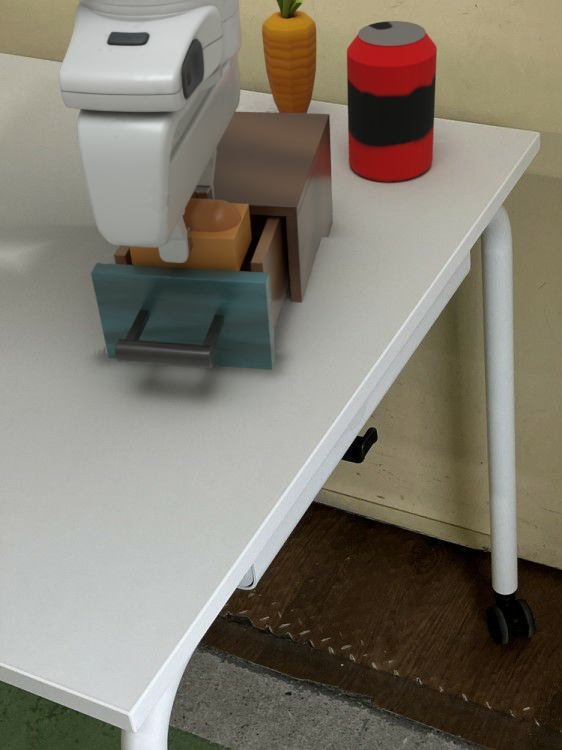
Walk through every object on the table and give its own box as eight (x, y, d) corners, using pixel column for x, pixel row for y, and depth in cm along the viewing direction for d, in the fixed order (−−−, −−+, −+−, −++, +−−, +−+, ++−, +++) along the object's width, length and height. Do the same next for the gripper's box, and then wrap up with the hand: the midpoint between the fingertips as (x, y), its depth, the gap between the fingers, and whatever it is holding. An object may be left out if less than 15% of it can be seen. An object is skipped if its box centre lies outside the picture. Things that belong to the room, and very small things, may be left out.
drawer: (258, 427, 63) (249, 327, 58) (87, 413, 65) (64, 315, 60) (307, 270, 77) (302, 178, 72) (164, 262, 79) (150, 172, 74)
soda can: (407, 138, 96) (410, 11, 88) (447, 171, 90) (454, 38, 82) (335, 156, 94) (331, 27, 86) (371, 190, 88) (371, 56, 80)
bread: (133, 270, 66) (123, 216, 63) (152, 234, 69) (143, 182, 66) (237, 276, 64) (232, 221, 62) (252, 240, 68) (247, 187, 65)
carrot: (270, 121, 100) (259, -35, 91) (319, 119, 100) (314, -37, 91) (267, 143, 96) (256, -17, 87) (319, 141, 96) (313, -19, 87)
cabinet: (303, 323, 73) (296, 206, 67) (137, 312, 76) (117, 198, 70) (332, 221, 84) (329, 113, 78) (187, 214, 87) (173, 109, 81)
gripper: (159, -38, 65) (183, 157, 74) (44, 92, 50) (92, 319, 58) (254, -38, 64) (268, 160, 73) (167, 95, 49) (197, 326, 57)
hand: (189, 232), depth 66 cm, fingers closed on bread, 4 cm apart
